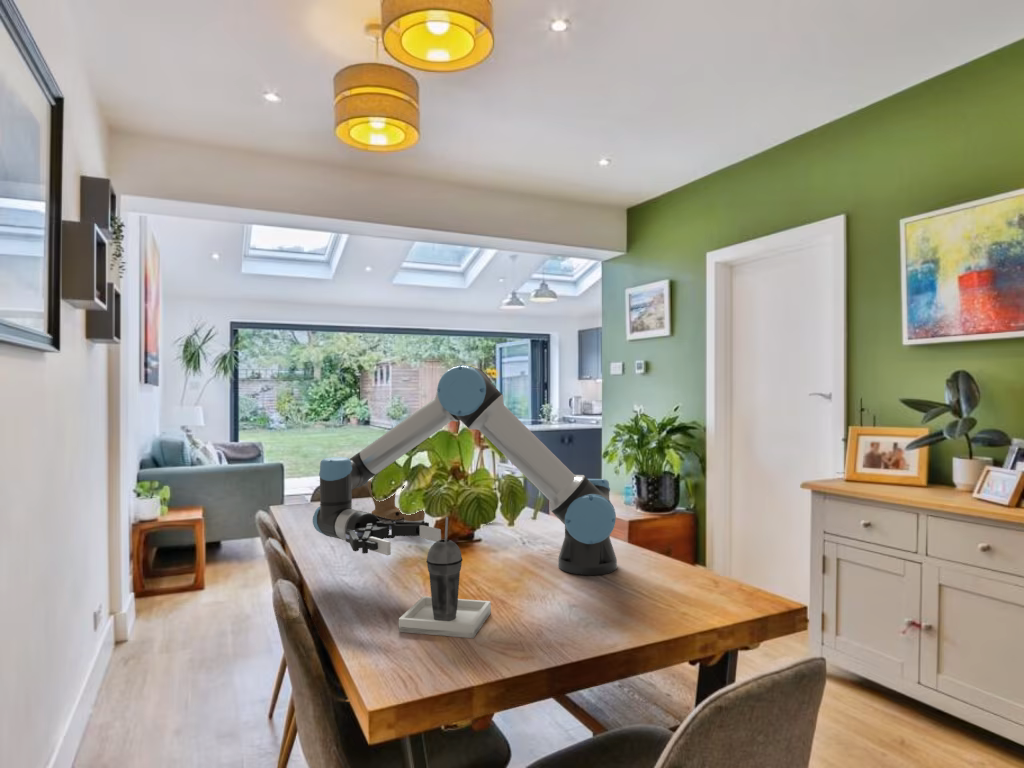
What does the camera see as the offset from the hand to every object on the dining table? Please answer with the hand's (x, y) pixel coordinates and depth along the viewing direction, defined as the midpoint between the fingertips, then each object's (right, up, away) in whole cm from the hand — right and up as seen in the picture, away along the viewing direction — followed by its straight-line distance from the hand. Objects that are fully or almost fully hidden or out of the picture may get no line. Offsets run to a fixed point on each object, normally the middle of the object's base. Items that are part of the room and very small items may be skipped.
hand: (415, 541), depth 131 cm
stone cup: (-25, -15, +91) cm, 96 cm away
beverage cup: (+7, -14, -7) cm, 17 cm away
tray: (+7, -14, -7) cm, 18 cm away
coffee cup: (-12, -15, +72) cm, 74 cm away
